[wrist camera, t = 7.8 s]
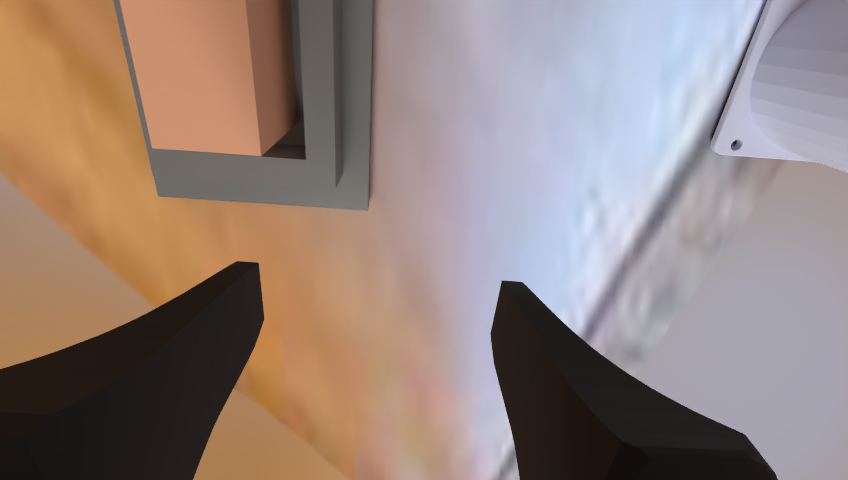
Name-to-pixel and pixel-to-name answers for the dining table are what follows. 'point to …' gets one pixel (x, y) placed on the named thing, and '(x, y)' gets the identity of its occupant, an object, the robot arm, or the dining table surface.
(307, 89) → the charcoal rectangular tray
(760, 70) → the robot arm
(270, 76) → the terracotta bar
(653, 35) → the dining table surface
